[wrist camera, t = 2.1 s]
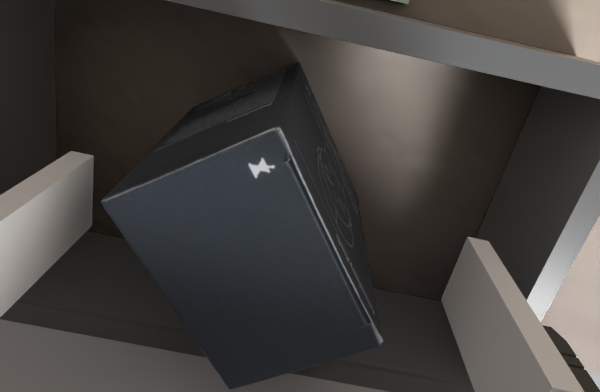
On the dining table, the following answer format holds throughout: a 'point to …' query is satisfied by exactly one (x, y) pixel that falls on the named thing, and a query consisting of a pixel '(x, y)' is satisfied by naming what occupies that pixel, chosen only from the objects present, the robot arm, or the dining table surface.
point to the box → (254, 232)
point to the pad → (402, 1)
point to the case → (390, 305)
